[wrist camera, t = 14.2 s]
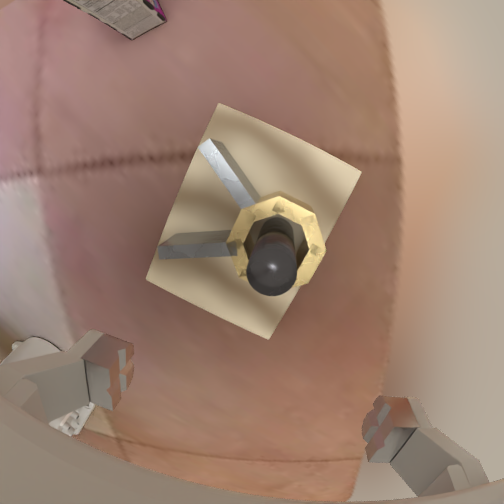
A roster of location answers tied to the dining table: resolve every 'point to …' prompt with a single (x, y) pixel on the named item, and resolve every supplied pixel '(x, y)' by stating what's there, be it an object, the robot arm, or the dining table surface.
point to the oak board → (227, 211)
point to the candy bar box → (124, 14)
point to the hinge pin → (273, 259)
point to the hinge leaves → (247, 222)
